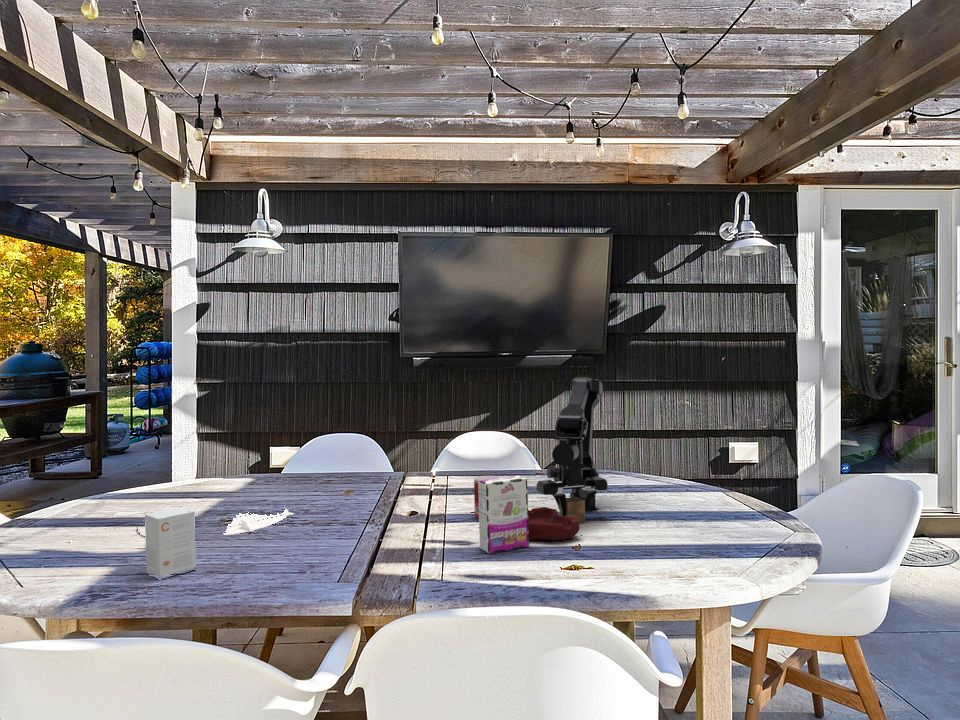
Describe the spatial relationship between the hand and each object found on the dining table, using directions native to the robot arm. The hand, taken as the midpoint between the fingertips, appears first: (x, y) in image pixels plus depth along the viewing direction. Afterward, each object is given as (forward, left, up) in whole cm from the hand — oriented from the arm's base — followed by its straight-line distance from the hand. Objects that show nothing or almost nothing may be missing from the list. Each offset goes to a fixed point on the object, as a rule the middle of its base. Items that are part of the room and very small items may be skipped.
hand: (572, 517), depth 177 cm
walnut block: (0, 0, -1) cm, 1 cm away
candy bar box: (+25, +16, -2) cm, 30 cm away
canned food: (+20, -12, -1) cm, 23 cm away
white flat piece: (+93, -34, -2) cm, 99 cm away
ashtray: (+14, +9, -2) cm, 16 cm away
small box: (+98, +9, -2) cm, 98 cm away
